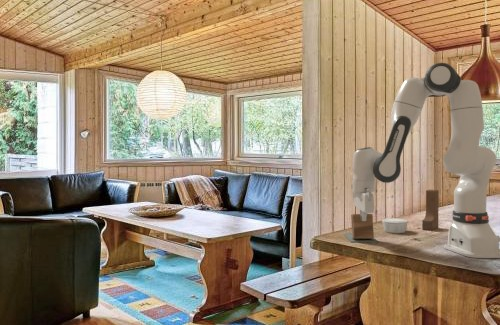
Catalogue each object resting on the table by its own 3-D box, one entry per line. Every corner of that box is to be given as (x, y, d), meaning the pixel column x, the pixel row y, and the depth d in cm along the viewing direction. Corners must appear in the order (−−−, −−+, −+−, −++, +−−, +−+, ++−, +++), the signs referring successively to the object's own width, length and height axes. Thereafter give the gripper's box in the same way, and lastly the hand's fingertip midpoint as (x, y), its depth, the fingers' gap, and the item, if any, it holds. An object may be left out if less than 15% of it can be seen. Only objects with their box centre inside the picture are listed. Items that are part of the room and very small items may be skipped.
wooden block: (431, 230, 206) (432, 191, 205) (421, 229, 209) (422, 191, 208) (438, 227, 212) (438, 189, 212) (428, 226, 215) (429, 189, 215)
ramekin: (391, 234, 199) (391, 222, 199) (377, 230, 210) (377, 218, 209) (413, 233, 202) (413, 221, 202) (398, 228, 213) (398, 217, 212)
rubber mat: (378, 242, 184) (378, 241, 184) (351, 242, 184) (351, 241, 184) (368, 234, 200) (368, 233, 200) (343, 234, 200) (343, 233, 200)
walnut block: (373, 238, 185) (372, 214, 187) (354, 238, 185) (353, 214, 187) (371, 238, 189) (370, 214, 191) (352, 238, 189) (351, 214, 191)
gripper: (378, 189, 174) (377, 225, 175) (365, 184, 194) (365, 216, 195) (361, 189, 174) (361, 225, 175) (350, 184, 195) (350, 216, 195)
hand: (363, 220), depth 185 cm, fingers closed
